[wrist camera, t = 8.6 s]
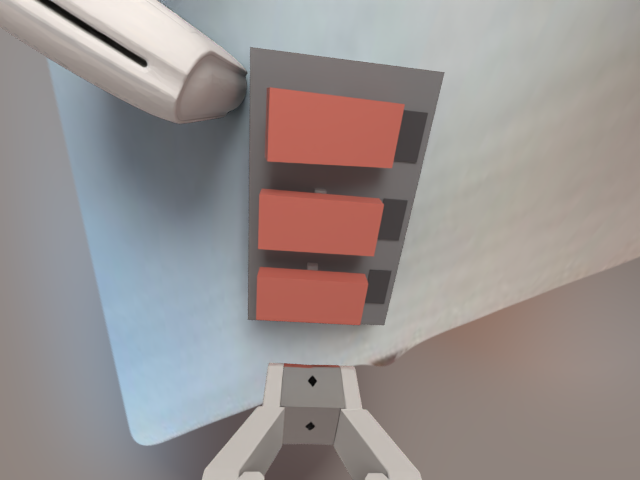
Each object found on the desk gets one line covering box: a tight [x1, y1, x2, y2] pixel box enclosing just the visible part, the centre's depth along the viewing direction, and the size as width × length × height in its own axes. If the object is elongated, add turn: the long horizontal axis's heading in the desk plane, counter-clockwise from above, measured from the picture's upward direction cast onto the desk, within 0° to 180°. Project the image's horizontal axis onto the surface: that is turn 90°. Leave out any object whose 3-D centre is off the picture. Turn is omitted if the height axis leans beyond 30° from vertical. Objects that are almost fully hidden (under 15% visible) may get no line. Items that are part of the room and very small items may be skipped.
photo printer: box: [0, 0, 247, 124], centre depth 15 cm, size 10×4×12 cm, turn 56°
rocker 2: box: [258, 189, 384, 256], centre depth 21 cm, size 8×4×1 cm, turn 84°
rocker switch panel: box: [248, 47, 444, 325], centre depth 24 cm, size 12×20×5 cm, turn 174°
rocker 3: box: [256, 267, 368, 325], centre depth 23 cm, size 8×4×1 cm, turn 84°
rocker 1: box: [265, 87, 405, 168], centre depth 18 cm, size 8×4×1 cm, turn 84°
